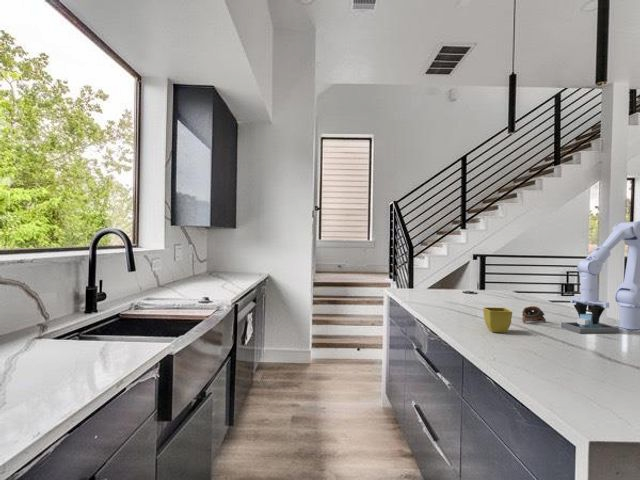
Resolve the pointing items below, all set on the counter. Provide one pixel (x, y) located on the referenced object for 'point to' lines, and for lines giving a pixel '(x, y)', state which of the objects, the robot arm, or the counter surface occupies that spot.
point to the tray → (576, 328)
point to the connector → (587, 321)
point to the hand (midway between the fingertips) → (589, 322)
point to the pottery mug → (533, 314)
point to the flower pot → (497, 319)
